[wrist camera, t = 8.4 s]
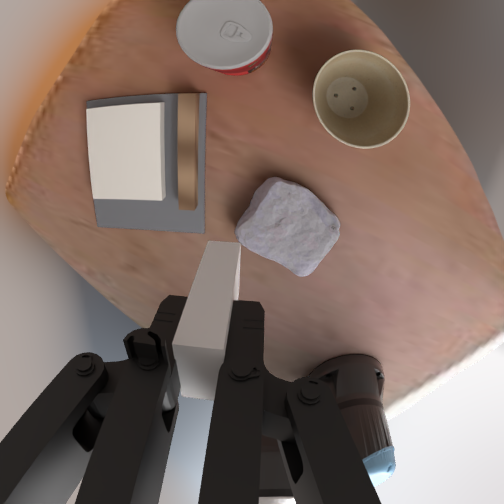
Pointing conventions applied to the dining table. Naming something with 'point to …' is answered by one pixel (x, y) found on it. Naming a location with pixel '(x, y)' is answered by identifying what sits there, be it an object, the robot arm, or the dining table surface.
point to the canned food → (226, 34)
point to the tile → (127, 151)
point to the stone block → (288, 226)
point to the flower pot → (361, 99)
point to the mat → (167, 210)
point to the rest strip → (188, 150)
